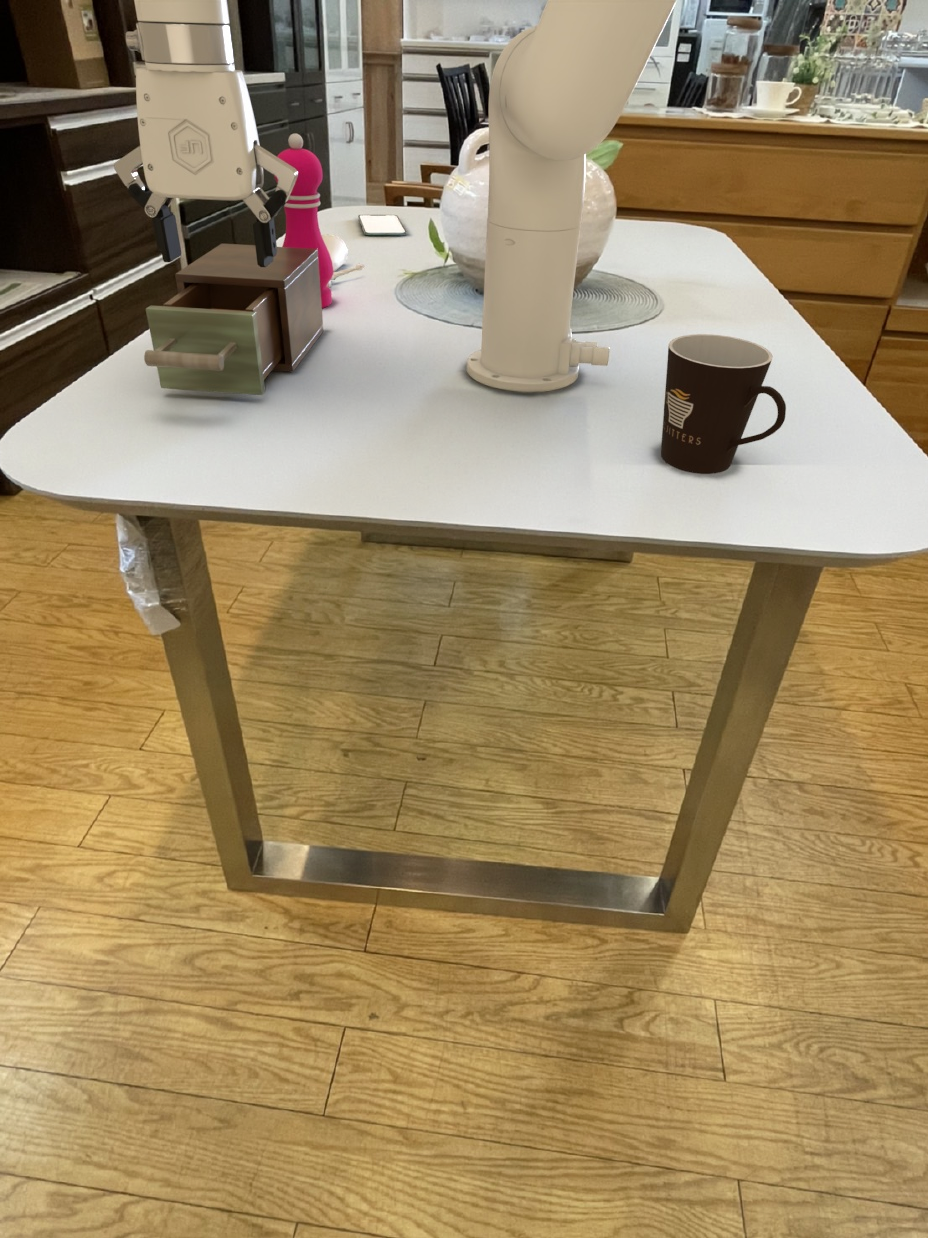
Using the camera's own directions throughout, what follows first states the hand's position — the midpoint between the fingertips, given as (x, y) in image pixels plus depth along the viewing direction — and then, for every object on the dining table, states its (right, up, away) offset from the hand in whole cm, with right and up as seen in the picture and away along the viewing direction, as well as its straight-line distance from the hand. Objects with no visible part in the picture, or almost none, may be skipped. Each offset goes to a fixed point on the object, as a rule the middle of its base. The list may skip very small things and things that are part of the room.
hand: (219, 261), depth 80 cm
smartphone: (+9, +39, +72) cm, 82 cm away
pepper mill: (+3, +8, +30) cm, 31 cm away
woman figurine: (+3, +17, +42) cm, 45 cm away
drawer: (-1, -10, +4) cm, 11 cm away
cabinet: (0, -3, +15) cm, 15 cm away
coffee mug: (+46, -22, -7) cm, 51 cm away
